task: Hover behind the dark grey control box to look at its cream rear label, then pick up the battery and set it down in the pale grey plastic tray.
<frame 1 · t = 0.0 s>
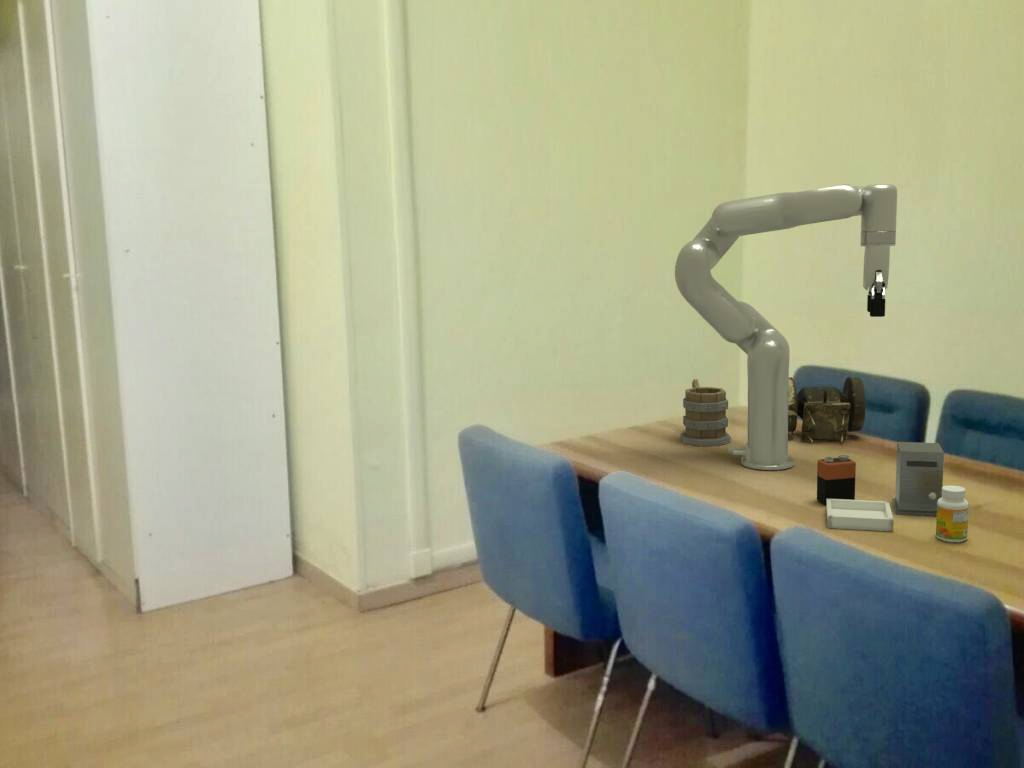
hand: (875, 314, 227), 37 cm above the table, tool pointing down, fingers open, 9 cm apart
supplement bottle: (951, 539, 184), on the table
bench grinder: (820, 438, 265), on the table
battery: (835, 502, 208), on the table
tray: (858, 520, 196), on the table
tankard: (702, 438, 270), on the table
control box: (917, 508, 202), on the table
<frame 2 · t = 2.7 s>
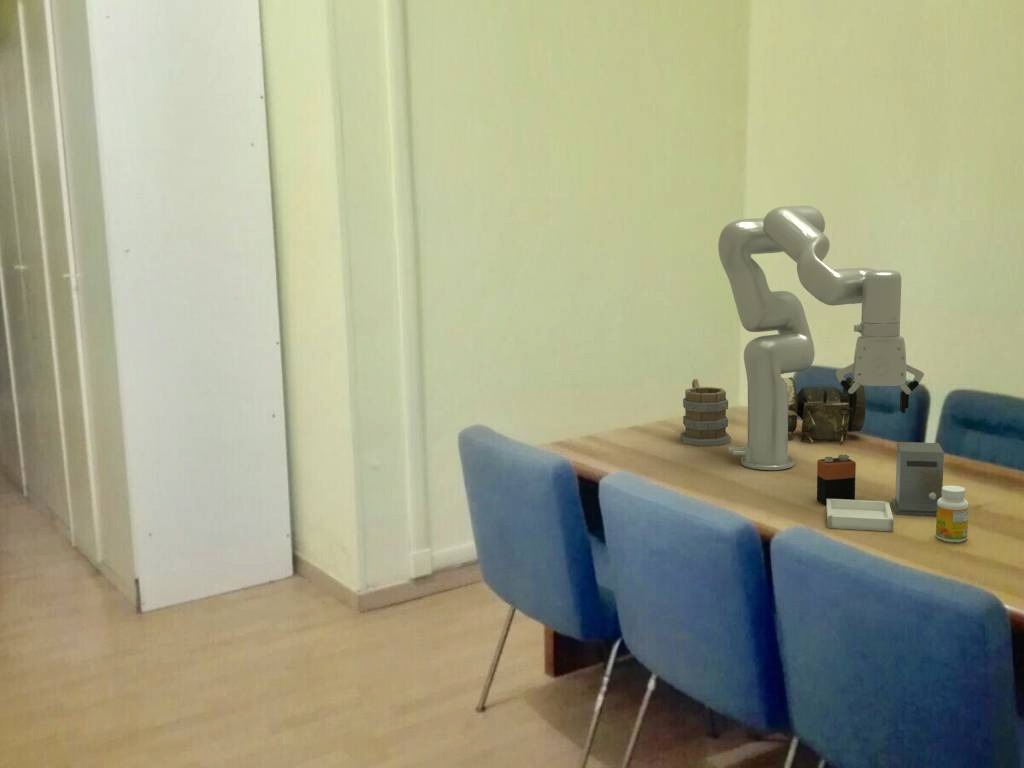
hand: (878, 411, 206), 19 cm above the table, tool pointing down, fingers open, 9 cm apart
nothing on the table moved.
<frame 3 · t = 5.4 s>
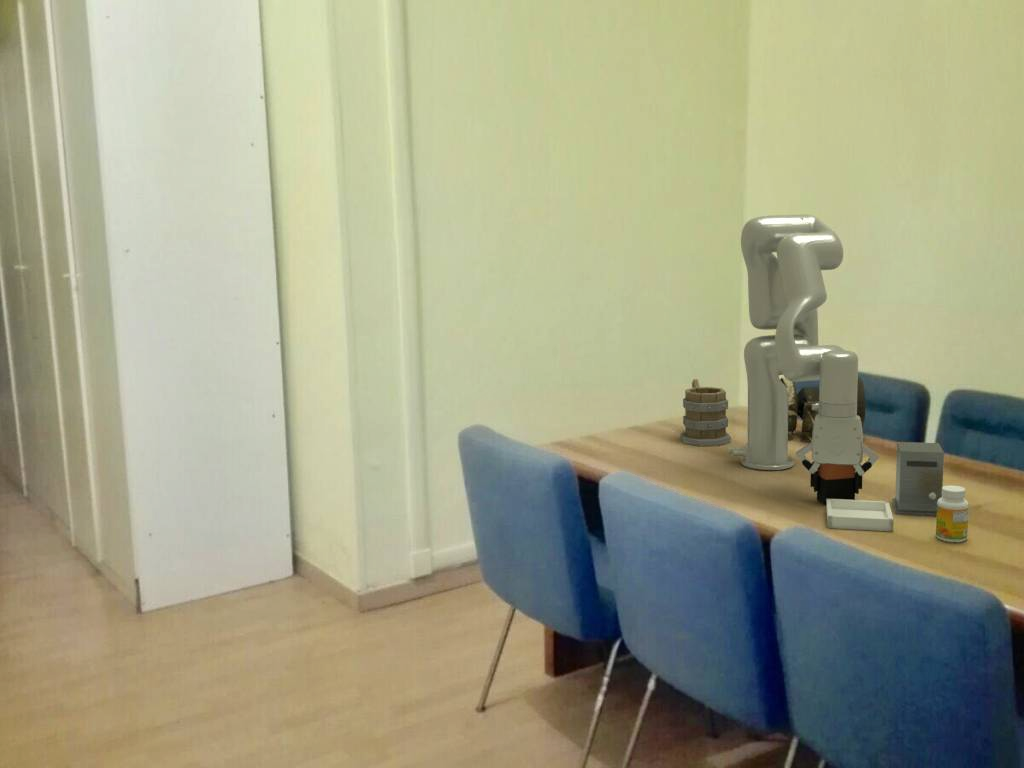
hand: (835, 490, 208), 2 cm above the table, tool pointing down, fingers closed on battery, 7 cm apart
battery: (835, 502, 208), on the table, touching gripper
everything else where it was.
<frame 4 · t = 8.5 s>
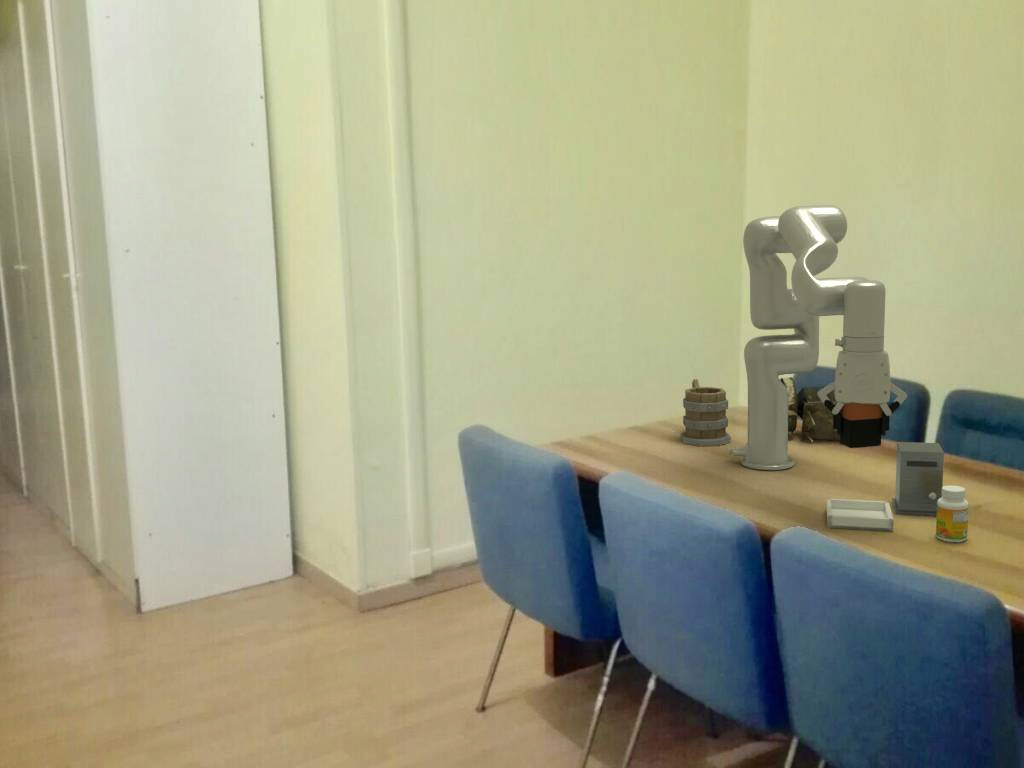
hand: (860, 433, 193), 18 cm above the table, tool pointing down, fingers closed on battery, 7 cm apart
battery: (860, 446, 193), point 15 cm above the table, touching gripper
everything else where it was.
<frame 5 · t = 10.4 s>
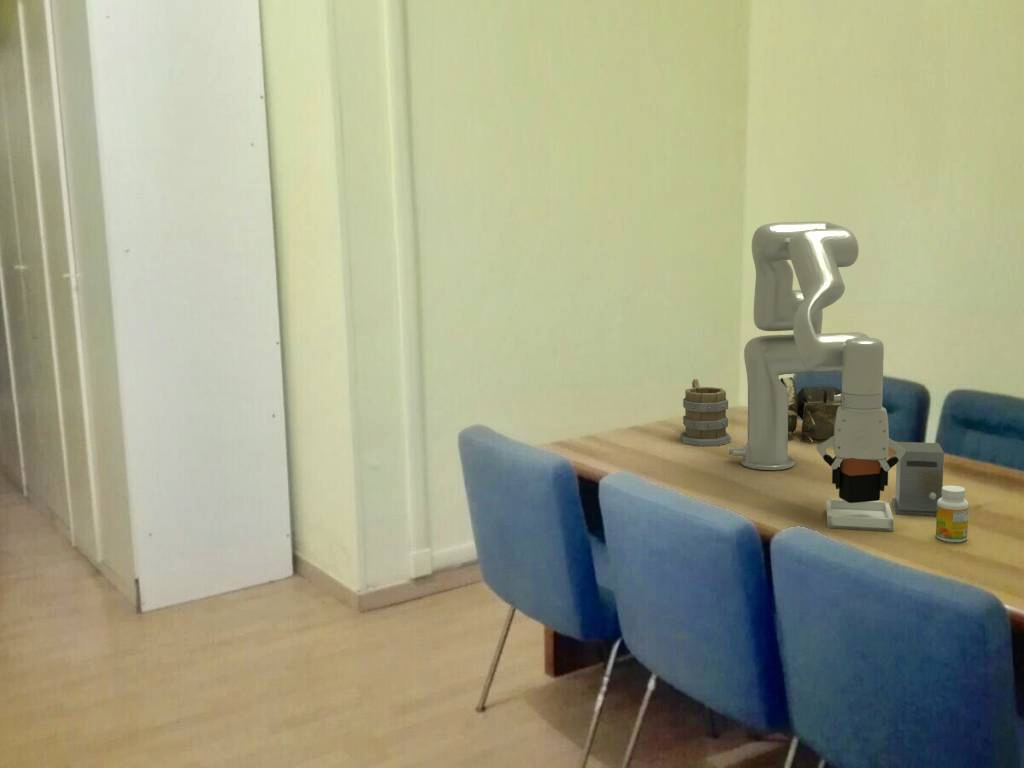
hand: (859, 487, 195), 7 cm above the table, tool pointing down, fingers closed on battery, 7 cm apart
battery: (859, 500, 195), point 4 cm above the table, touching gripper
everything else where it was.
when the fingers open (4 cm above the table, at t = 12.0 s): battery drops 1 cm, resting on tray.
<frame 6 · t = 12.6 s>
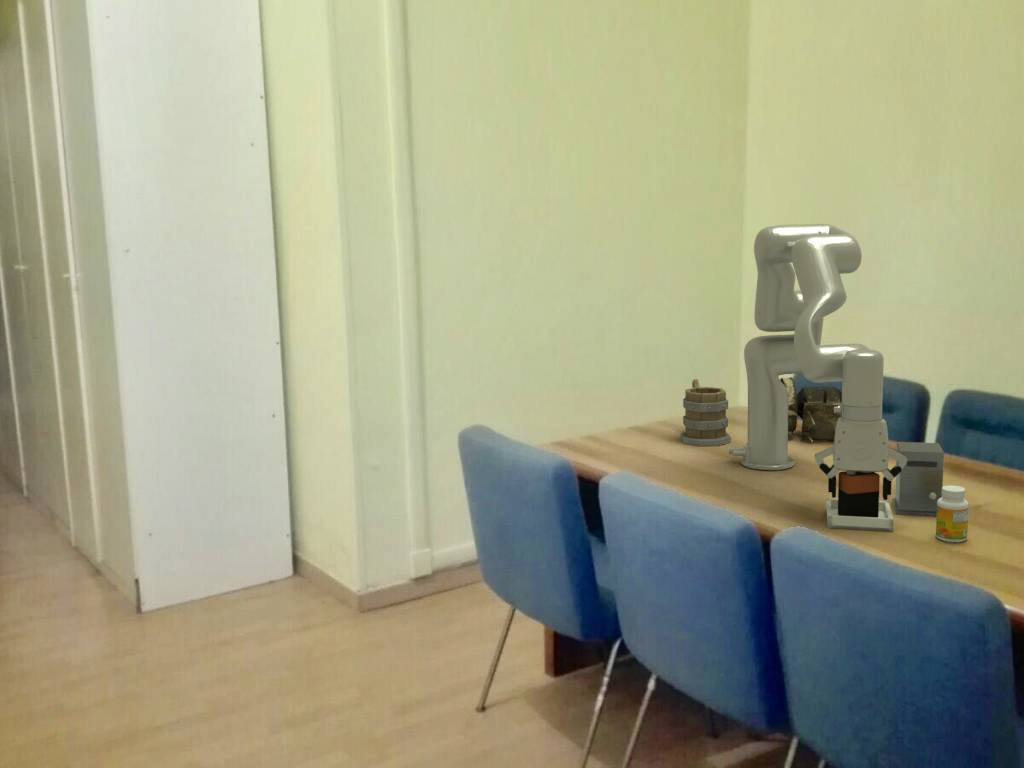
hand: (859, 497, 195), 5 cm above the table, tool pointing down, fingers open, 9 cm apart
battery: (857, 517, 196), resting on tray
everything else where it was.
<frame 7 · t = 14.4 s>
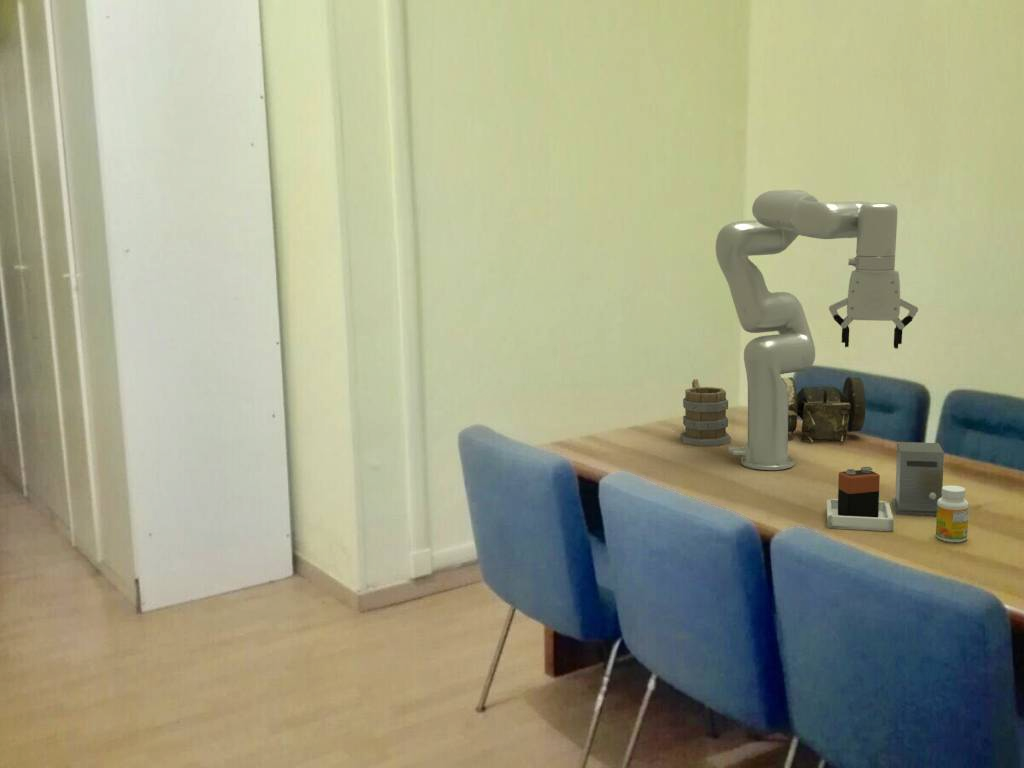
hand: (871, 346, 204), 33 cm above the table, tool pointing down, fingers open, 9 cm apart
nothing on the table moved.
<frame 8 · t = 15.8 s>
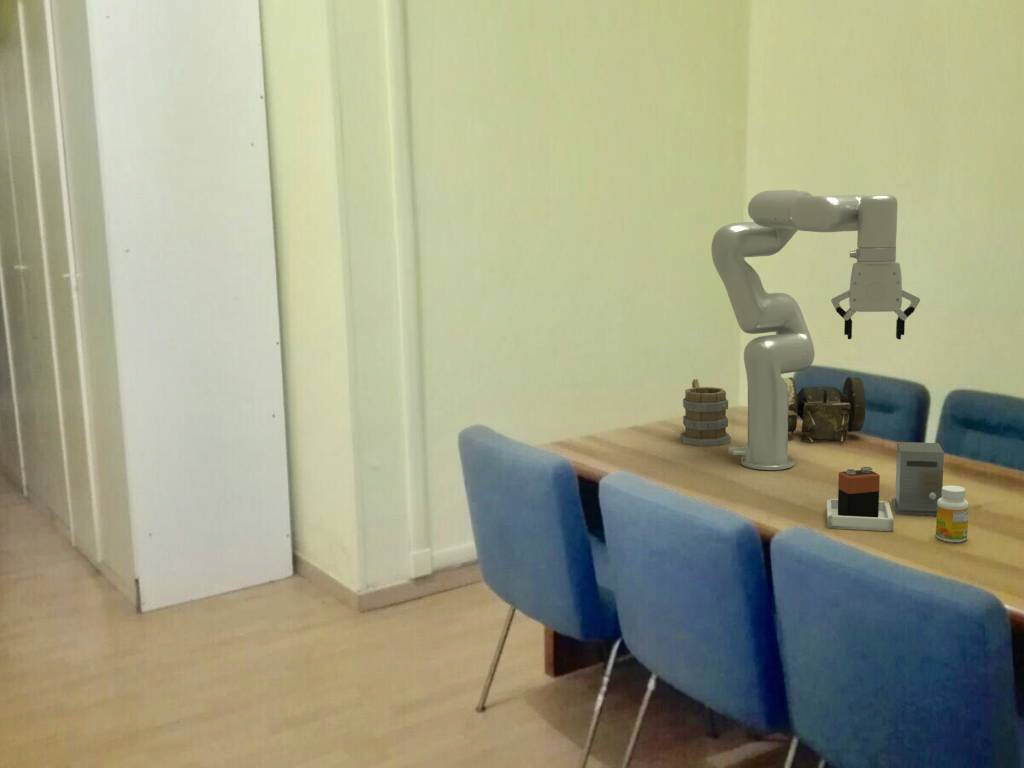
hand: (873, 338, 205), 34 cm above the table, tool pointing down, fingers open, 9 cm apart
nothing on the table moved.
at the end: battery inside the target area on the tray (0.2 cm from its centre), point 0.4 cm above the tray's base; battery tilted 0°; the gripper is holding nothing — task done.
